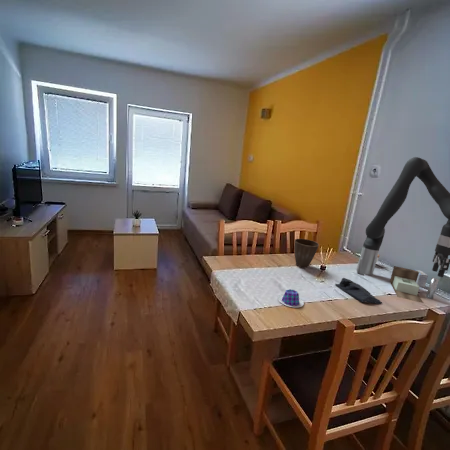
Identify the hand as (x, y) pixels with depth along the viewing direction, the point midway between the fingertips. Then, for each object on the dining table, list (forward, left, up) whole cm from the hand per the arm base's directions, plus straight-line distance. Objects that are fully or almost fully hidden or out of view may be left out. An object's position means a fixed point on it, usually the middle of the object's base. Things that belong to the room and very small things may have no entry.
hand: (437, 273), depth 142 cm
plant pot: (-68, +6, -15) cm, 70 cm away
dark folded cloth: (-37, -17, -16) cm, 43 cm away
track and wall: (-11, +1, -15) cm, 19 cm away
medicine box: (-1, +19, -15) cm, 24 cm away
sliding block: (-11, +4, -14) cm, 18 cm away
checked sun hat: (-68, -47, -16) cm, 84 cm away
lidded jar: (-25, +44, -15) cm, 53 cm away
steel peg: (0, 0, -15) cm, 15 cm away
